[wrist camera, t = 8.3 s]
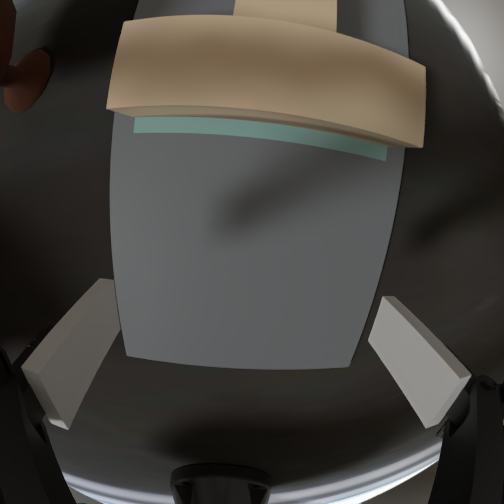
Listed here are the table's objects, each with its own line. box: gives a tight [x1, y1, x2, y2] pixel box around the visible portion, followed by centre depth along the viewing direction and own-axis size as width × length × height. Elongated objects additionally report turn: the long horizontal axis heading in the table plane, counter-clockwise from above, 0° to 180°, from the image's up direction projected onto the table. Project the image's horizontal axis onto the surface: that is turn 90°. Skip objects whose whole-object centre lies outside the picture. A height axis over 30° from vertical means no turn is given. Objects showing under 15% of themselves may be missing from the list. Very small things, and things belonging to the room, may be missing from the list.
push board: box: [110, 0, 409, 369], centre depth 15 cm, size 34×19×1 cm, turn 174°
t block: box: [106, 0, 426, 148], centre depth 10 cm, size 15×16×4 cm
